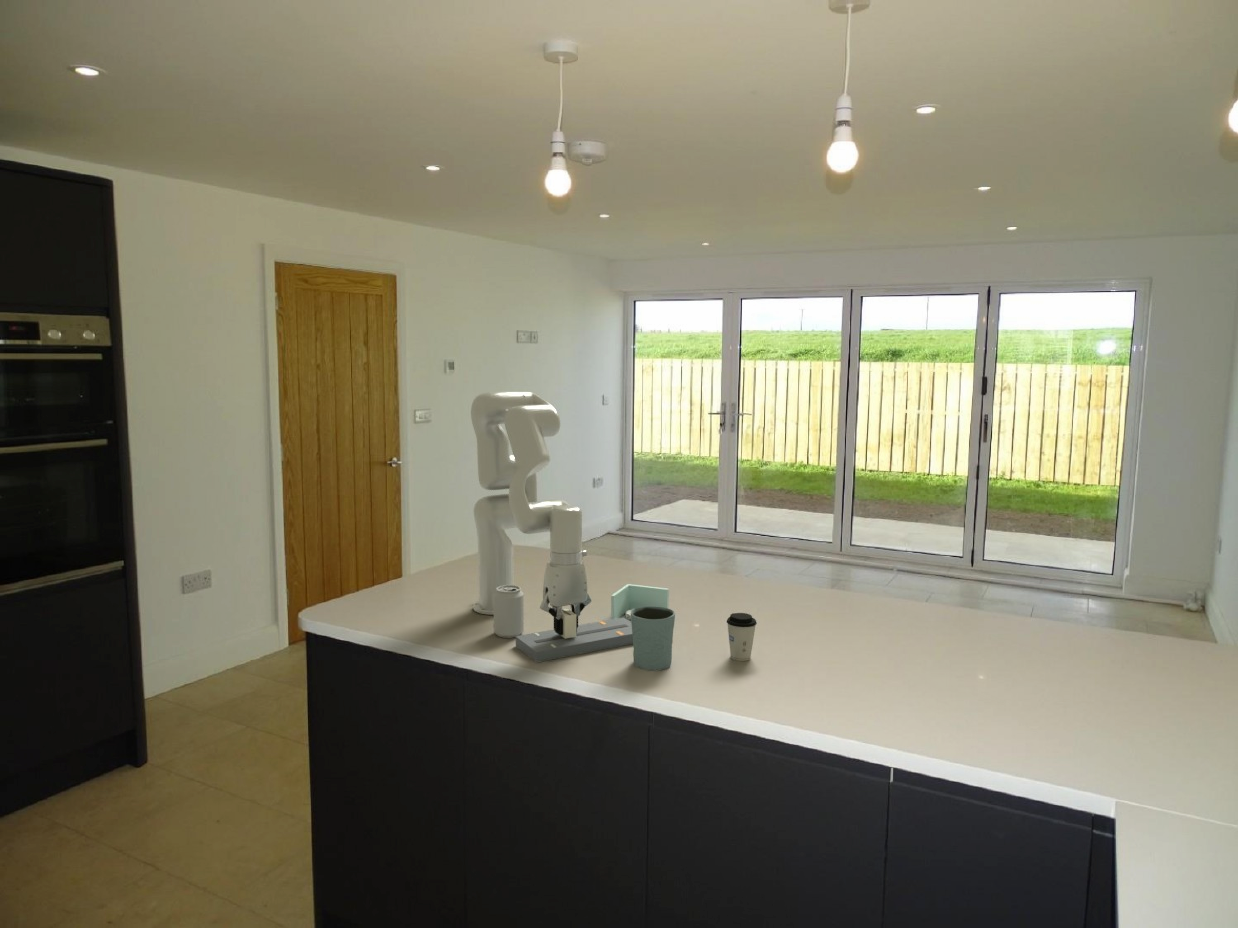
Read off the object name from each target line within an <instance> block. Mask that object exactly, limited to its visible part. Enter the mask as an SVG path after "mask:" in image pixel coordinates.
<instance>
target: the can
mask: <svg viewBox="0 0 1238 928" xmlns="http://www.w3.org/2000/svg"><path fill="white" fill-rule="evenodd" d="M524 595H525V594H524V592H523V591H522V587H521V586H519V585H516V584H514V585H503V586H499V587H497V588H496V592H495V593H494V594H493V602H494V615H493V633H494V634H495V635H496V636H498V637H500V638H503V639H504V638H505V639H511V638H512V639H513V638H516V636H520V635H522V633H524V631H525V608H524V607H525V606H524V605H525V596H524Z"/></svg>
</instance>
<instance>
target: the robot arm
mask: <svg viewBox="0 0 1238 928" xmlns="http://www.w3.org/2000/svg"><path fill="white" fill-rule="evenodd" d="M470 419H471V423H472V428H473V430H474V434H475V439H476V448H477V449H476V450H477V451H476V454H477V458H476V459H477V476H478V477H477V478H478V481H479V485H480V487H481V488H482V489H484V490H486V491H499V490H500V491H502V490H508V493H501V494H493V495H487V496H483V497H481V498H479V499H478V500H477V501H476V503H475V504H474V507H473V518H474V522H475V527H476V535H477V536H476V537H477V557H478V559H477V560H478V563H477V564H478V565H477V566H478V567H477V568H478V569H477V570H478V600H477V601H475V602H474V603H473V604H472V608H473V611H475V612H476V613H478V614H482V615H490V616H494V602H493V594H494V593H495V592H496V588H497V587H499V586H503V585H515V584H514V582H515V581H514V544H513V542H512V540H511V538H510V537H509V536H508V535H507V533H506V530H509V529H517V528H518V530H519V531H520V532H521V533H523V534H526V535H532V534H533V535H534V534H540V533H548V532H549V560H550V561H549V562H547V563H546V566H545V570H544V577H543V586H542V587H543V589H542V601H541V604H540V605H539V609H541V610H542V611H544V612H547V613H549V614H550V615H551V616H552V617H553V630H554V631H555V632H556V633H557V634H559V635H563V619H561V612H562V609H563V607H566V606H570V611H572V612H573V613H575V614H576V633H577V628H578V625H579V617H580V616H581V612H582V611H583V610H584V608H585V607H587V606H588V605H590V604H591V602H592V599H591V597H590V595H589V593H588V590H589V589H588V588H589V587H588V578H587V570H586V565H585V563H584V561H583V558H584V557H586V556H587V555H588V554H587V550H583V549H582V548H583V514H582V513H583V512H582V509H581V508H580V507H579V506H577V505H572V504H570V503H568V502H567V501H565V500H563V499H550V500H541V501H538V488H537V487H538V486H537V485H538V483H537V480H538V479H537V473H538V472H539V471H542V470H543V469H545V468H546V467H547V466H548V465H549V464H550V460H551V456H550V454H549V451H548V447H547V444H546V441H545V438H550V437H554V436H557V434H558V433H559V431H560V427H561V420H560V415H559V413H558V411H557V410H556V408H555V407H554V406H553V404H551V403H550V402H548V401H547V400H545V399H544V398H542V397H541V396H539V395H538V394H536V393H535V392H532V391H490V392H484V393H481V394H478V395H477V396H475V398H474V399H473V401H472V403H471V408H470ZM500 424H501V425H500ZM502 424H503V425H504V427H505V429H504V428H503V426H502ZM505 430H506V431H505ZM509 445H510V446H509ZM509 447H511V451H512V453H510V448H509ZM549 605H550V606H549Z"/></svg>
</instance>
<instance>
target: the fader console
mask: <svg viewBox="0 0 1238 928" xmlns="http://www.w3.org/2000/svg"><path fill="white" fill-rule="evenodd" d="M628 645H633V634H632V624H631V620H629V619H627V618H625V617H622V616H621V617H619V618H617V619H611V618H610V619H606V620H601V621H595V622H589V623H585V624H582V623H581V624H578V628H577V633H576V637H571V638H566V639H565V638H563V637H562V636H560V635H559V634H557V633H556V632H555V631H554V629H550V630H549V629H548V630H545V631H537V632H532V633H526V634H520V635H519V636H516V637H515V648H517V649H519V650H520V651H521V652H523V654H525V655H526V656H527V657H529V658H530V659H531V660H532V661H534V662H535V663H541V662H545V661H552V660H555V659H560V658H565V657H571V655H572V656H576V654H577V655H580V654H579V653H582V654H588V653H591V652H592V653H593V652H598V651H602V649H603V650H607V648H608V649H612V648H618V647H623V646H628Z"/></svg>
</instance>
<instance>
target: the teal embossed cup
mask: <svg viewBox="0 0 1238 928" xmlns="http://www.w3.org/2000/svg"><path fill="white" fill-rule="evenodd" d="M675 618H676V612H675V611H674V610H673V609H671V608H669V609H668V608H664V607H654V606H649V607H640V608H636V609H634V610H632V611H631V620H630V621H631V624H632V634H633V644H632V645H633V652H632V654H633V664H634V666H635V667H636V668H637V669H638V668H639V669H640V670H641V669H642V670H645V671H661V670H665V669H666V670H667V669H668V668H670V666H671V665H672V657H673V652H672V651H673V641H674V640H673V639H674V627H675V620H676V619H675Z"/></svg>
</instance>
